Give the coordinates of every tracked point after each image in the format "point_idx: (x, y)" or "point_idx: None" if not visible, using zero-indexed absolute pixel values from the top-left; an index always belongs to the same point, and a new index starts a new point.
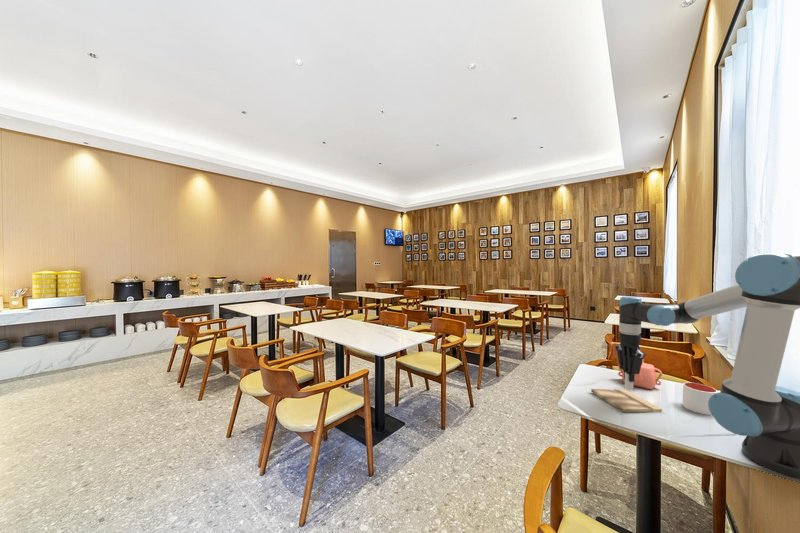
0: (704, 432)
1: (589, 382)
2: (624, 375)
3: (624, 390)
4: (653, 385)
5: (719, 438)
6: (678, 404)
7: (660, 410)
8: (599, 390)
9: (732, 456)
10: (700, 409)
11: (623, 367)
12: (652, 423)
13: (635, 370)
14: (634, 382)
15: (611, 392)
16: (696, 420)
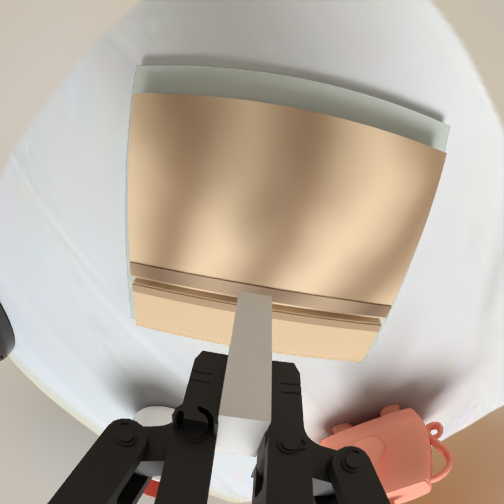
0: (46, 308)
1: (500, 291)
2: (293, 394)
3: (357, 351)
4: None
5: (27, 309)
6: None
7: (137, 314)
8: (416, 191)
9: None
10: (138, 419)
11: (302, 480)
12: (77, 185)
13: (83, 463)
14: (372, 429)
15: (368, 250)
16: (113, 367)
